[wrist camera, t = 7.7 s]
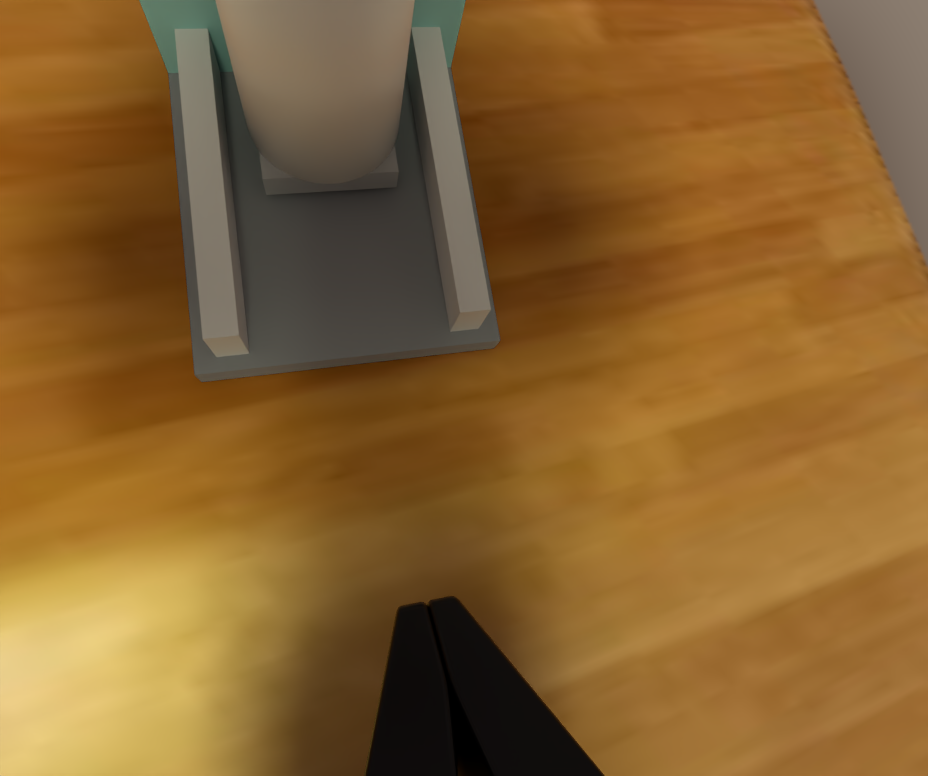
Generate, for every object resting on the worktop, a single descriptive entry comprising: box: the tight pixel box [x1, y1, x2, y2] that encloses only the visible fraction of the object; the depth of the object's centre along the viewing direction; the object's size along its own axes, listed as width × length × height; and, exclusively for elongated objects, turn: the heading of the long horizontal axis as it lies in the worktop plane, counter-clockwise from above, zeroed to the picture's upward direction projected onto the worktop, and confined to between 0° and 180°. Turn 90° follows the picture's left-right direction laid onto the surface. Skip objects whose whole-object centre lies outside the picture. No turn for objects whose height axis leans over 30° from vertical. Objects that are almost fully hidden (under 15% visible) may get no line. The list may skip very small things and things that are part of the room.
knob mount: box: [139, 0, 500, 382], centre depth 20 cm, size 13×10×6 cm
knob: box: [215, 0, 415, 195], centre depth 16 cm, size 5×5×11 cm
